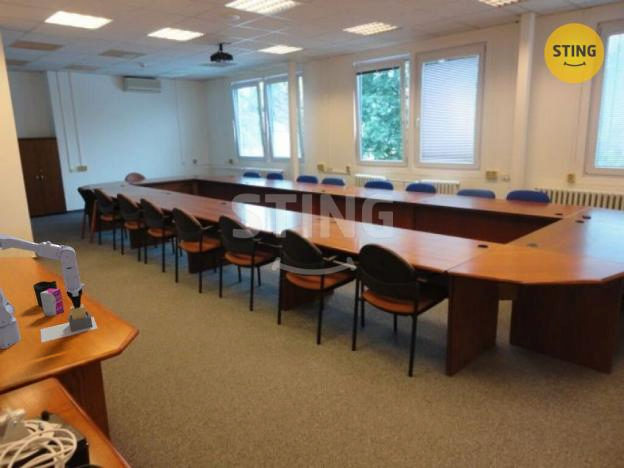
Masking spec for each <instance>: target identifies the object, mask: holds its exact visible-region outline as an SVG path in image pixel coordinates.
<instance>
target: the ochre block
mask: <svg viewBox="0 0 624 468" xmlns="http://www.w3.org/2000/svg"><path fill="white" fill-rule="evenodd" d="M84 305H85V304H84V303H81V306H80V307H78V308H74V306H73V305H71V306H69V309H70V315H72V319H73V321H74V320H78V319H83V318H86V313H85V311H86V308H85V306H84Z"/></svg>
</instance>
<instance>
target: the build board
mask: <svg viewBox="0 0 624 468" xmlns="http://www.w3.org/2000/svg"><path fill="white" fill-rule="evenodd" d="M91 320H92V325H93V327H89V328H85V329H81V330H77V331H73V332H71V329H70V325H69V322H65V323H62V324H58V325H54V326H49V327H44V328H40V342H41V344H42V343H45V342H49V341H53V340H57V339H60V338H65V337H69V336H72V335H76V334H81V333H85V332H88V331H93V330H97V329H98V325H97V323H96V321H95V317H94V316H91Z"/></svg>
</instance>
